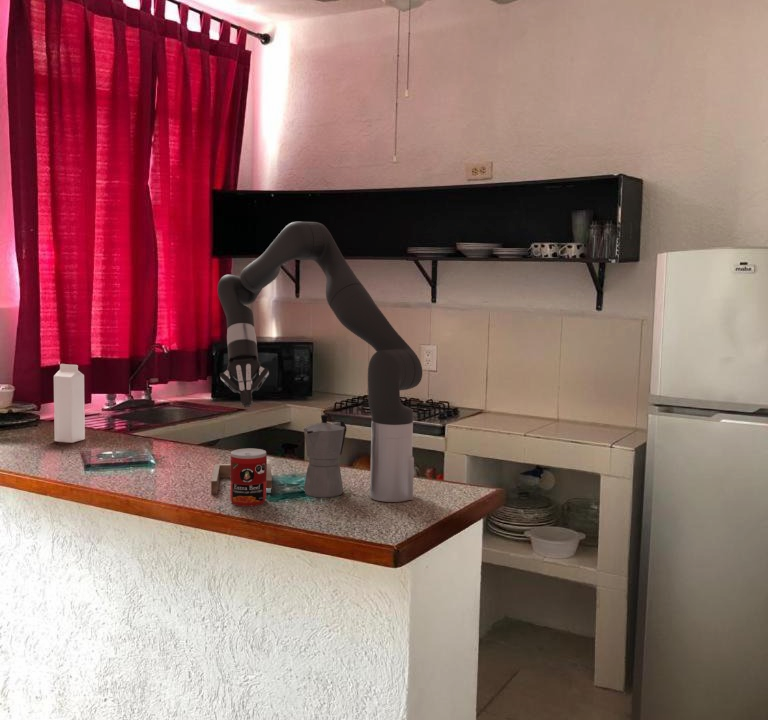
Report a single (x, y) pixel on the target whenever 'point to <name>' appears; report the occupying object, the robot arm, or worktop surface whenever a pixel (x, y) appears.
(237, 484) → the canned food
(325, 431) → the coffeepot
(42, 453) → the worktop surface
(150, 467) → the worktop surface
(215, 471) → the walnut u-shaped block
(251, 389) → the robot arm
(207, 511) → the worktop surface
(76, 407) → the milk
